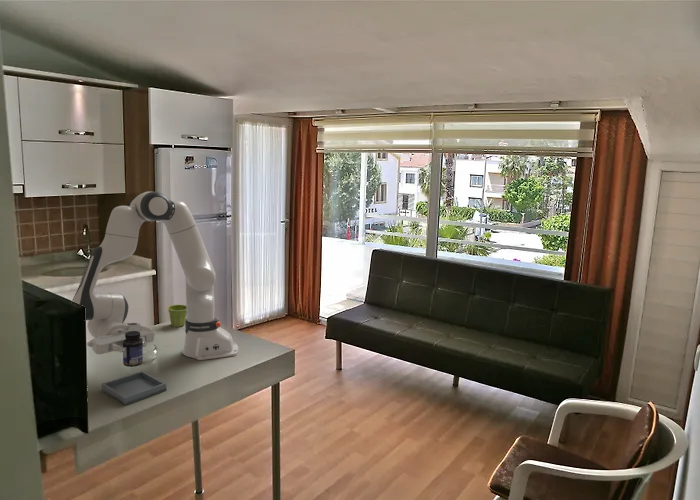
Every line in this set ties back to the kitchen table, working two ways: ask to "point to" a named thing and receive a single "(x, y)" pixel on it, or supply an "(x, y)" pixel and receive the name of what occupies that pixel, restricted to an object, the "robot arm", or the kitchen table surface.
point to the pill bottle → (132, 349)
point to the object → (177, 315)
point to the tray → (133, 387)
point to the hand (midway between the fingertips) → (134, 347)
